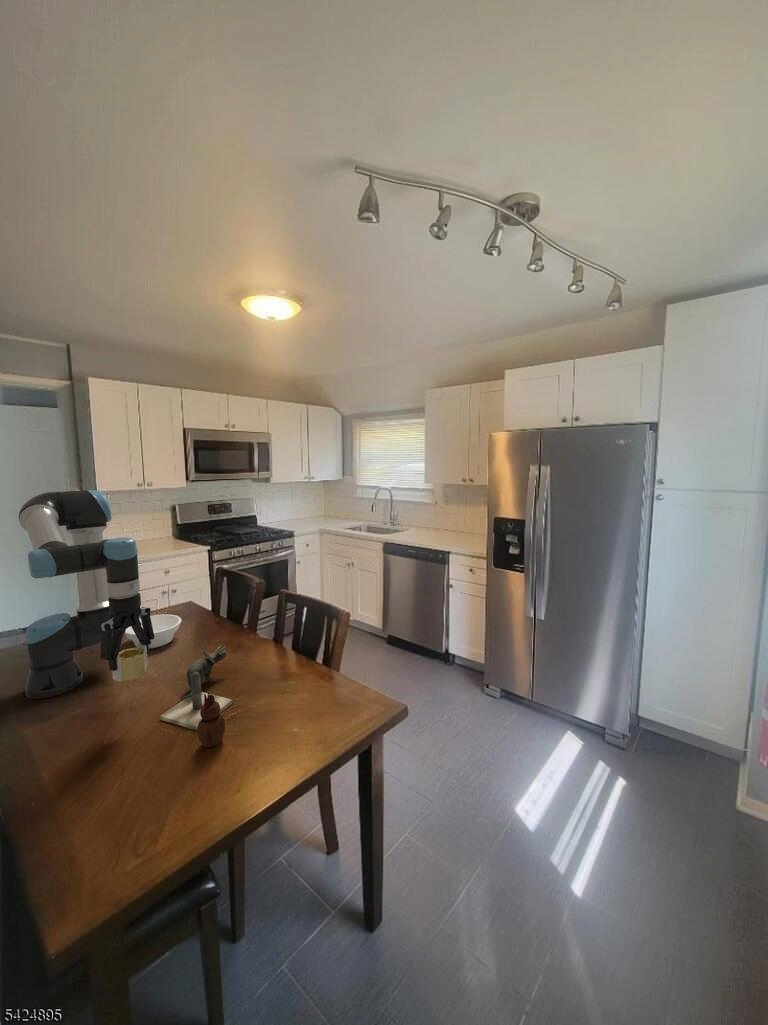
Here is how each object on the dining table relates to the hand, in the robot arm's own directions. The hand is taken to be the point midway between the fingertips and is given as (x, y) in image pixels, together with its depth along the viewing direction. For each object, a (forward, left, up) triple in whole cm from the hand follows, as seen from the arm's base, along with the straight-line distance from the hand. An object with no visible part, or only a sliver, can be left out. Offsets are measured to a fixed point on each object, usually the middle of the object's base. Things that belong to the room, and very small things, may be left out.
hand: (131, 672), depth 118 cm
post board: (+12, +11, -15) cm, 23 cm away
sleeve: (0, 0, 0) cm, 0 cm away
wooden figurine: (+27, +1, -16) cm, 31 cm away
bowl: (-40, +41, -16) cm, 60 cm away
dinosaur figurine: (+3, +21, -16) cm, 27 cm away
